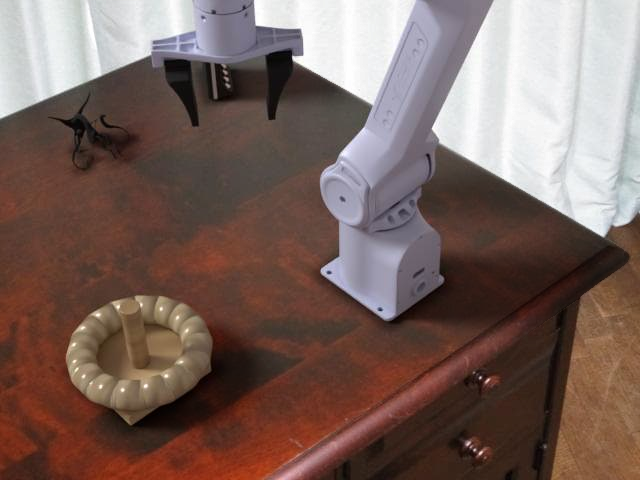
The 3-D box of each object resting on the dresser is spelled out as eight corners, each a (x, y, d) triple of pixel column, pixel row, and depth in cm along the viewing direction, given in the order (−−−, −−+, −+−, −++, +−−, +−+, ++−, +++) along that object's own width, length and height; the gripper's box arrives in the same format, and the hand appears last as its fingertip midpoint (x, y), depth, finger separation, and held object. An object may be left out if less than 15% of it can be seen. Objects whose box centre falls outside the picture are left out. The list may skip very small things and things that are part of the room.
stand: (211, 371, 104) (203, 307, 98) (130, 426, 99) (117, 362, 94) (151, 319, 108) (140, 256, 103) (71, 369, 104) (56, 306, 98)
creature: (144, 151, 130) (94, 113, 132) (145, 116, 126) (95, 79, 128) (92, 186, 125) (42, 146, 128) (92, 151, 121) (40, 111, 124)
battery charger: (241, 99, 135) (234, 14, 127) (208, 102, 134) (199, 17, 127) (234, 66, 140) (227, -18, 132) (202, 70, 139) (194, -14, 132)
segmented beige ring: (242, 362, 103) (240, 342, 101) (125, 441, 96) (120, 421, 95) (155, 289, 110) (152, 269, 108) (41, 359, 103) (36, 339, 102)
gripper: (296, -29, 110) (300, 88, 120) (144, -17, 109) (160, 100, 118) (304, 10, 105) (307, 129, 114) (145, 22, 104) (161, 141, 113)
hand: (233, 117), depth 116 cm, fingers open, 7 cm apart
